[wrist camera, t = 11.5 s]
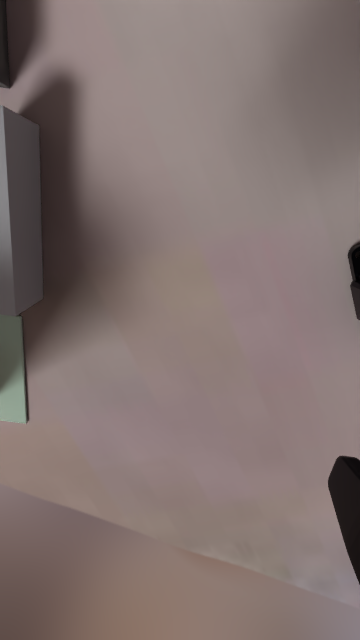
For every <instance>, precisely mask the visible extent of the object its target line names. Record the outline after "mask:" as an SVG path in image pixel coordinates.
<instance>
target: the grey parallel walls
mask: <svg viewBox="0 0 360 640" xmlns="http://www.w3.org/2000/svg"><path fill="white" fill-rule="evenodd" d="M42 299H43V263H42V222H41V180H40V138H39V125H37V124H36V123H34V122H32V121H30V120H28V119H26V118H24V117H23V116H21V115H19V114H17V113H15V112H13V111H12V110H10V109H8V108H6V107H4V106H1V105H0V314H1V315H8V316H17V315H19V314H20V313H22V312H23V311H25V310H26V309H28V308H29V307H31V306H32V305H34V304H35V303H37V302H39V301H40V300H42Z"/></svg>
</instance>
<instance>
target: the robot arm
mask: <svg viewBox="0 0 360 640" xmlns="http://www.w3.org/2000/svg"><path fill="white" fill-rule="evenodd" d="M358 251H360V244H359V245H356V246H354V247H352V248H351V249H350V250H349V253H348V259H349V264H350V269H351V274H352V279H353V281H352V283H351V285H350V287H351V292H352V297H353V301H354V306H355V311H356V315H357V319H358V320H360V256H359V257H357V258H356V257H355V255H356V253H357V252H358ZM328 487H329V491H330V495H331V498H332V501H333V505H334V508H335V512H336V515H337V519H338V522H339V526H340V529H341V533H342V536H343V540H344V543H345V546H346V549H347V552H348V555H349V558H350V561H351V563H352V566H353V569H354V571H355V574H356V576H357V579H358V582H359V584H360V460H359V459H357V458H355V457H349V456H339V457H338V458H337V459H336V462H335V464H334V466H333V469H332V471H331V473H330V476H329V479H328Z"/></svg>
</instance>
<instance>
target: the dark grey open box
mask: <svg viewBox="0 0 360 640" xmlns="http://www.w3.org/2000/svg"><path fill="white" fill-rule="evenodd" d="M0 87H4V88H10V79H9V60H8V41H7V21H6V2H5V0H0Z"/></svg>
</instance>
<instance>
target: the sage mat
mask: <svg viewBox="0 0 360 640" xmlns="http://www.w3.org/2000/svg"><path fill="white" fill-rule="evenodd" d="M0 420H1V421H9V422H17V423H25V424H26V423H27V406H26V387H25V367H24V348H23V329H22V316H8V315H1V314H0Z"/></svg>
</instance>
